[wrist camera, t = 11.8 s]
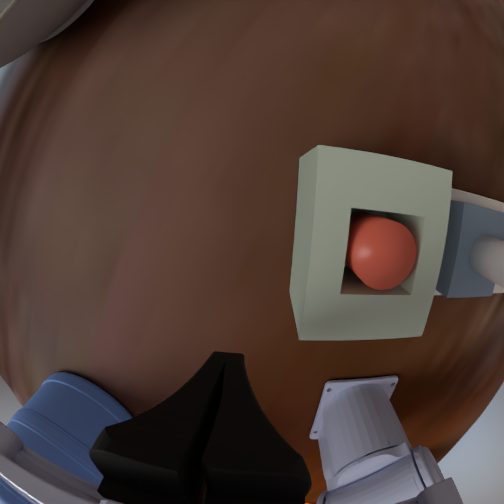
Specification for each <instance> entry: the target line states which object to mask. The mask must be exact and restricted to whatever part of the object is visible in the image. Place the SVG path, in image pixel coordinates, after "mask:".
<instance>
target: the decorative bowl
mask: <svg viewBox="0 0 504 504" xmlns="http://www.w3.org/2000/svg"><path fill="white" fill-rule="evenodd" d="M93 1H94V0H0V68H1V67H3V66H5V65H6V64H8V63H10V62H12V61H13V60H15V59H17V58H19V57H20V56H22V55H23V54H25V53H26V52H28V51H29V50H31V49H32V48H34V47H35V46H36V45H38V44H39V43H41V42H44V41H47V40H49V39H51V38H53V37H54V36H56V35H57V34H59V33H60V32H62V31H63V30H64V29H66V28H67V27H68V26H69V25H70V24H72V23H73V22H74V21H75V20H76V19H77V18H78V17H79V16H80V15H81V14H82V13H83V12H84V11H85V10H86V9H87V8H88V7H89V6H90V5H91V4H92V2H93Z"/></svg>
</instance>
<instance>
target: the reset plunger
mask: <svg viewBox="0 0 504 504" xmlns="http://www.w3.org/2000/svg"><path fill="white" fill-rule="evenodd" d="M415 258H416V244H415V240H414V238H413V236H412V234H411V232H410V231H409V230H408V229H407V227H405V226H404V225H402V224H401V223H398V222H396V221H393V220H390V219H387V218H384V217H381V216H378V215H375V214H372V213H369V212H356V213H353V214H351V215H350V225H349V234H348V243H347V251H346V258H345V263H346V264H347V265H348V266H349V267H350V268H351V269H352V270H353V272H354V273H355V274H356V275H357V276H358V277H359V278H360V279H361V280H362V281H363V282H364V283H365V284H366V285H367V286H369V287H371V288H373V289H377V290H386V289H390V288H393V287H395V286H397V285H399V284H400V283H401V282H402V281H404V280H405V279H406V277H407V276H408V275H409V273H410V272H411V270H412V268H413V265H414V263H415Z"/></svg>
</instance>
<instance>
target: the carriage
mask: <svg viewBox="0 0 504 504" xmlns="http://www.w3.org/2000/svg"><path fill="white" fill-rule="evenodd" d="M495 283H496V284H497V285H499V286H501V287H502V288H504V212H500V211H496V210H493V209H489V208H485V207H482V206H478V205H474V204H470V203H465V202H460V201H454V200H451V202H450V212H449V220H448V228H447V235H446V241H445V247H444V253H443V258H442V263H441V268H440V272H439V277H438V281H437V285H436V289H435V290H437V291H438V292H439V293H441V294H442V295H443V296H445V297H446V298H461V297H483V296H492V294H493V290H494V286H495Z"/></svg>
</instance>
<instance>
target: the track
mask: <svg viewBox="0 0 504 504" xmlns="http://www.w3.org/2000/svg"><path fill="white" fill-rule="evenodd" d="M451 200H454V201H460V202H465V203H470V204H474V205H478V206H482V207H485V208H489V209H493V210H496V211H500V212H504V203H502V202H499V201H496V200H493V199H490V198H486V197H483V196H479V195H476V194H472V193H469V192H465V191H461V190H457V189H453V188H452V171H450V170H446V169H443V168H439V167H435V166H431V165H428V164H423V163H419V162H415V161H411V160H406V159H402V158H397V157H392V156H387V155H382V154H376V153H371V152H365V151H359V150H352V149H346V148H338V147H331V146H323V145H317V146H316V147H315V148H313V149H312V150H310V151H309V152H307V153H306V154H305V155H303V156H302V157H300V158H299V177H298V193H297V209H296V222H295V235H294V247H293V259H292V269H291V280H290V290H289V292H290V297H291V301H292V306H293V311H294V316H295V321H296V326H297V331H298V336H299V340H370V339H390V338H405V337H417V336H422V333H423V330H424V327H425V324H426V321H427V318H428V315H429V311H430V308H431V304H432V301H433V297H434V295H442V294H441V293H439V292H438V291H437V290H435V289H436V285H437V281H438V277H439V272H440V268H441V263H442V258H443V253H444V247H445V241H446V235H447V228H448V220H449V212H450V202H451ZM356 212H369V213H372V214H375V215H378V216H381V217H384V218H387V219H390V220H393V221H396V222H398V223H401V224H402V225H404V226H405V227H407V229H408V230H409V231H410V232H411V234H412V236H413V238H414V240H415V244H416V258H415V263H414V265H413V268H412V270H411V272H410V273H409V275H408V276H407V277H406V279H405V280H404V281H402V282H401V283H400V284H399V285H397V286H395V287H393V288H390V289H386V290H377V289H373V288H371V287H369V286H367V285H366V284H365V283H364V282H363V281H362V280H361V279H360V278H359V277H358V276H357V275H356V274H355V273H354V272H353V270H352V269H351V268H350V267H349V266H348V265H347V264H346V263H345V258H346V251H347V243H348V234H349V225H350V215H351V214H353V213H356ZM493 293H504V288H502V287H501V286H499V285H497V284H496V283H495V286H494V290H493Z"/></svg>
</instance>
